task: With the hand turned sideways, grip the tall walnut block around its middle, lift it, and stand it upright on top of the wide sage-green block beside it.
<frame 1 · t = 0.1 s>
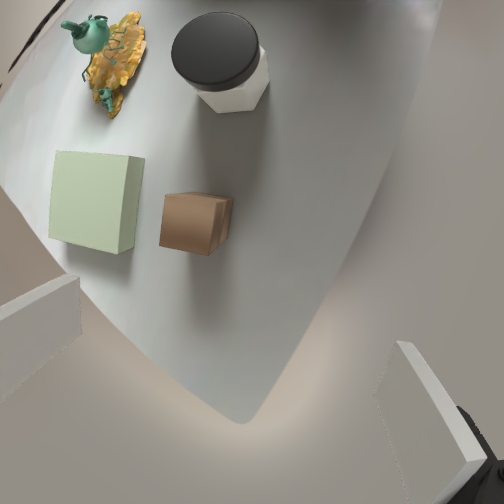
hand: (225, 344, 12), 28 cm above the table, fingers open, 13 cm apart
jar: (233, 84, 35), on the table
sage block: (103, 197, 40), on the table
green insect figurine: (117, 62, 36), on the table
walnut block: (210, 215, 39), on the table
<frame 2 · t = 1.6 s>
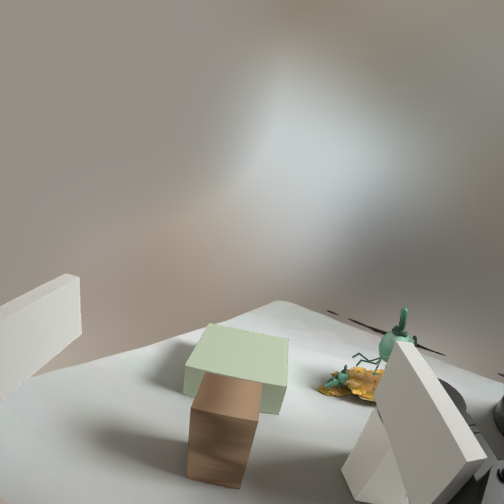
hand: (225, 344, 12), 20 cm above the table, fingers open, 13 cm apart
jar: (377, 479, 25), on the table
sage block: (237, 380, 41), on the table
green insect figurine: (370, 390, 42), on the table
walnut block: (217, 466, 25), on the table
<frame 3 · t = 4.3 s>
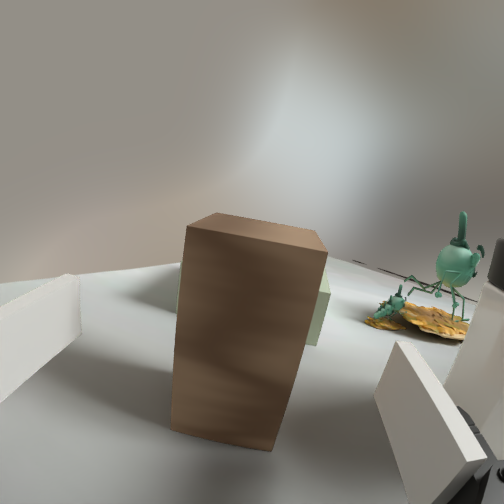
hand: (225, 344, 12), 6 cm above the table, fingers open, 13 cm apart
jar: (477, 427, 15), on the table
sage block: (254, 308, 31), on the table
green insect figurine: (426, 329, 32), on the table
walnut block: (228, 411, 16), on the table
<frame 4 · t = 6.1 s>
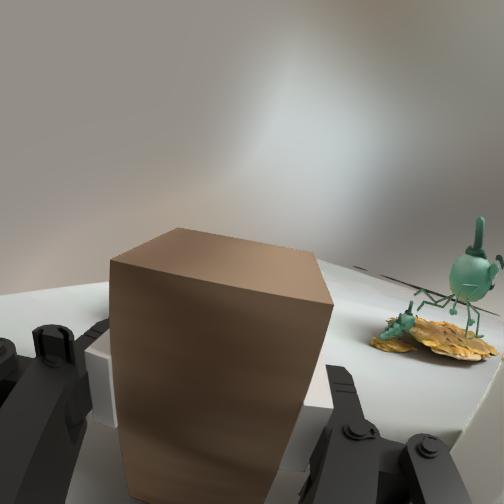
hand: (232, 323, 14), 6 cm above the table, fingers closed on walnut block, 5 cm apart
jar: (496, 471, 10), on the table
green insect figurine: (437, 347, 28), on the table
walnut block: (202, 472, 11), on the table, touching gripper
when the fingers open (11 cm above the table, at t = 11.2 s): walnut block stays where it is, point 5 cm above the table.
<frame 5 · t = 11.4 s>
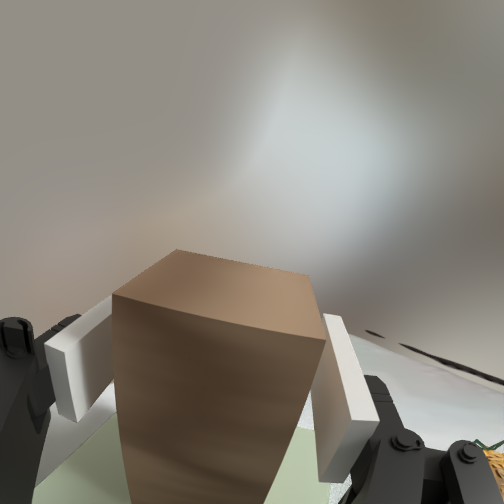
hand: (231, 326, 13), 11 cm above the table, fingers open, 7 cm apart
green insect figurine: (475, 495, 13), on the table
walnut block: (200, 481, 11), point 5 cm above the table
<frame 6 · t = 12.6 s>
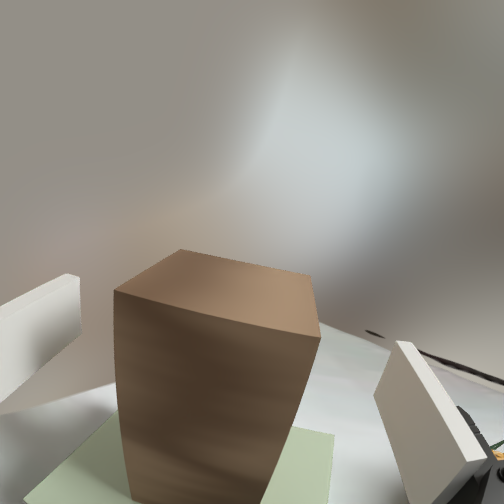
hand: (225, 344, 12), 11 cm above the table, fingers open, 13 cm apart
walnut block: (201, 478, 12), point 5 cm above the table, touching sage block
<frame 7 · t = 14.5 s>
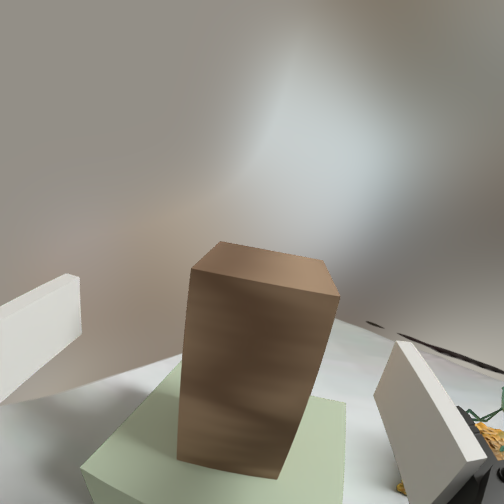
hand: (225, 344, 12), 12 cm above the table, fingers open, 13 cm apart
sage block: (226, 486, 16), on the table, touching walnut block
green insect figurine: (471, 464, 17), on the table
walnut block: (233, 438, 15), point 5 cm above the table, touching sage block
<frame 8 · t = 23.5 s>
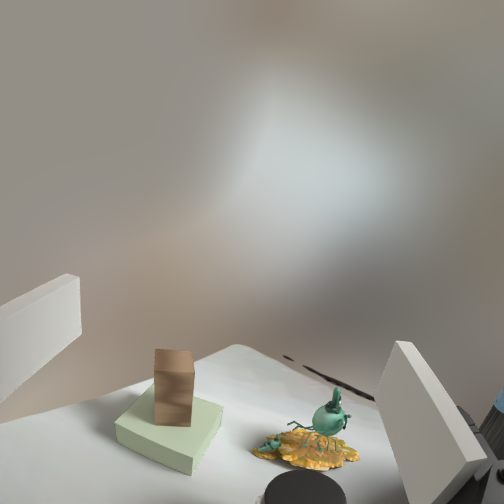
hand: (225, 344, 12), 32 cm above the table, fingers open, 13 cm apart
sage block: (170, 437, 41), on the table
green insect figurine: (307, 452, 42), on the table
walnut block: (172, 414, 40), point 5 cm above the table
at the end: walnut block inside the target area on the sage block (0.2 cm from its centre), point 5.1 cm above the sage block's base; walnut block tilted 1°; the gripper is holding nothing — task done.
